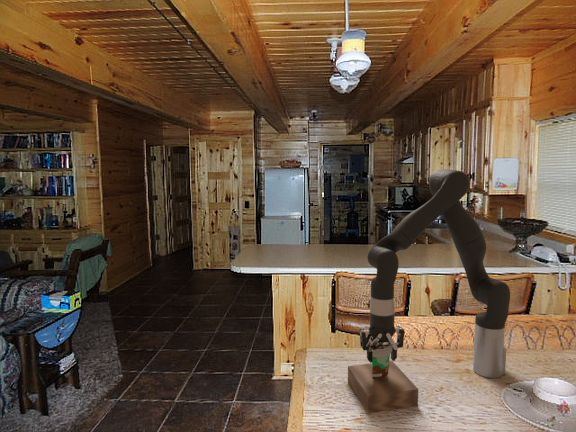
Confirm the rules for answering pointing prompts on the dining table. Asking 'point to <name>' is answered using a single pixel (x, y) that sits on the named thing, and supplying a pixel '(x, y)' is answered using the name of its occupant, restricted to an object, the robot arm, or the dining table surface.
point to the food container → (381, 359)
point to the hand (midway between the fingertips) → (381, 360)
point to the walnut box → (382, 388)
